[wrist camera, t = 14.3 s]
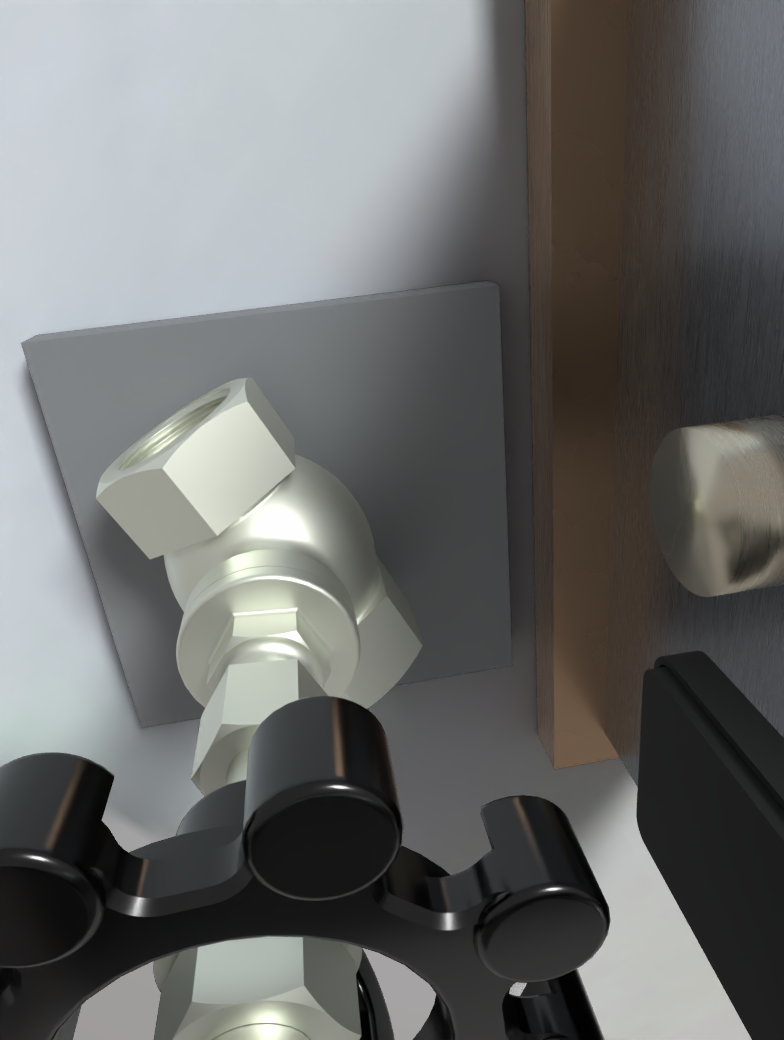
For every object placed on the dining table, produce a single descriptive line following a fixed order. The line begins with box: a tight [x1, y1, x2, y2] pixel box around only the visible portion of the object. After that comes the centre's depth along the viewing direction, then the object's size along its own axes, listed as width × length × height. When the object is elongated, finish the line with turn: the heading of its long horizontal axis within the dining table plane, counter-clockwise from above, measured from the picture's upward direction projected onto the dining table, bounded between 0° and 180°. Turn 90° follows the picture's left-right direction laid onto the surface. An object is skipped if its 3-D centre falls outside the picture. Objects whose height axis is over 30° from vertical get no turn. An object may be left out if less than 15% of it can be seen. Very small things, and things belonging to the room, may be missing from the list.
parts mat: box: [21, 281, 512, 728], centre depth 17 cm, size 10×10×1 cm
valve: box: [0, 378, 610, 1040], centre depth 11 cm, size 7×7×12 cm
